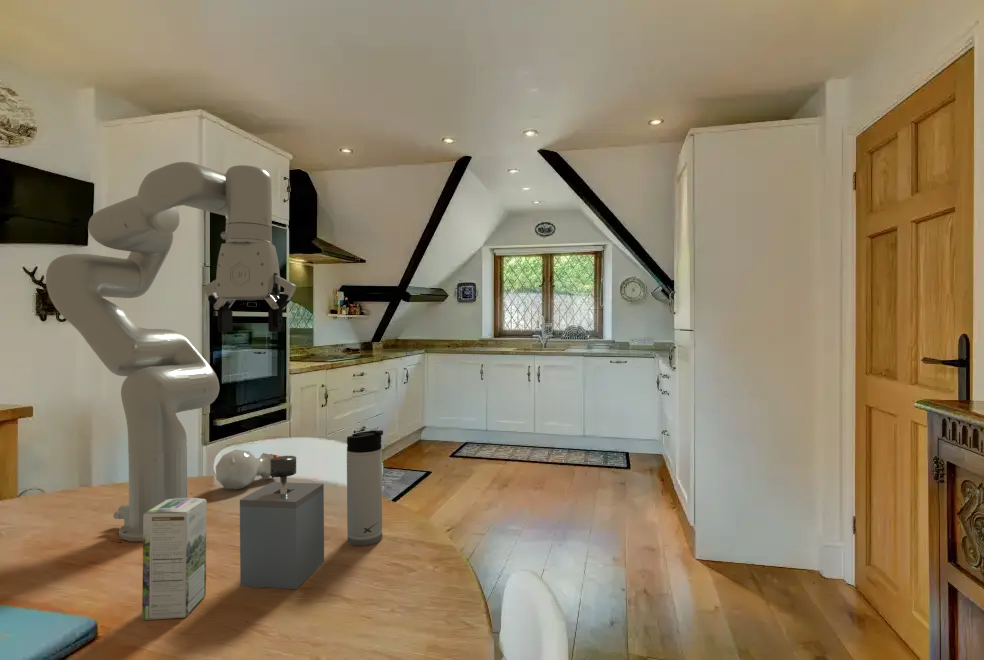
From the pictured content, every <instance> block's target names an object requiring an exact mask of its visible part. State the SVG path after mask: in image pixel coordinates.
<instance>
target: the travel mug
mask: <svg viewBox="0 0 984 660" xmlns="http://www.w3.org/2000/svg"><path fill="white" fill-rule="evenodd" d="M383 435H384V430H383V429H382V430H367V431H366V430H365V431H361V432H355V433H352V434H351V435H349V436H348V435H347V437H346V445H347V446H346V507H347V510H346V513H347V514H346V521H347V522H346V524H347V525H346V526H347V527H346V529H347V531H346V532H347V536H346V537H347V542H348V544H350V545H352V546H356V547H365V546H366V547H367V546H371V545H375V544H377V543H378V542H380V541H381V540H382V538H383V455H382V453H383V451H382V450H383V448H382V436H383Z"/></svg>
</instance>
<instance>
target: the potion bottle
mask: <svg viewBox="0 0 984 660" xmlns="http://www.w3.org/2000/svg"><path fill="white" fill-rule="evenodd" d="M253 454H254V453H253ZM253 454H252V453H251V452H250V451H249V450H243V449H234V450H232V451H230V452H227V453H225V454H223V455H222V456H221V458H220V459H219V461H218V462H217V463H216V465H215V477H216V480H217V482H218V483H219V484H220V485H221V486H222V487H223V488H225V489H227V490H236V489H240V490H242V489H243V488H246V487H247V486H250V485H251V484H253V482H254V480H255V478H256V477H261V478H262V479H263V480H265V479H266V480H267V479H269V478H270V477H271V478H272V479H273V478H275V477H272V476H271V475H270V460H271V459H272V458H275V457H279V456H280V455H277V454H272V453H264V452H263V453H262V454H260V456H259V457H257V458H256V457H255V456H254V455H253ZM241 488H242V489H241Z"/></svg>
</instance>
